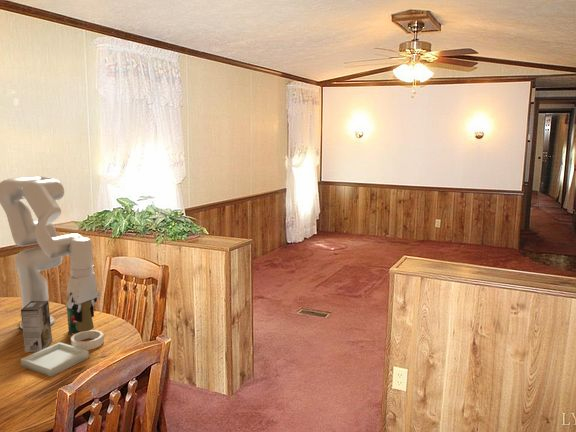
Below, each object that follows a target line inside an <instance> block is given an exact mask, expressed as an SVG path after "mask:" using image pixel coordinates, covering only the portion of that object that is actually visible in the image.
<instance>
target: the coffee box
mask: <svg viewBox="0 0 576 432" xmlns="http://www.w3.org/2000/svg"><path fill="white" fill-rule="evenodd" d="M48 301H49V300H48ZM48 301H31V302H30V303H28V304H27V305H26V306H25V307H24V308H23V307H22V308H21V309H20V314H21V316H22V317H21V316H20V317H21V322H22V326H23V329H22V333H23V334H22V335H23V345H24V352H25V353H31V352H32V353H33V352H34V353H36V352H38V351H41V350H43V349H45V348H47V347H49V345H50V343H51V342H52V341H53V337H52V325H51V324H50V316H51V315H50V314H51V313H49V312H50V302H49V303H48Z"/></svg>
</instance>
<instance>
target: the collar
mask: <svg viewBox="0 0 576 432" xmlns="http://www.w3.org/2000/svg"><path fill="white" fill-rule="evenodd" d="M104 337H105V336H104V333H103V331H100V330H98V329H91V330H89V331H84V332H79V333H76V334H72V336H70V345H71V346H74V347H77V348H81V349H84V350H87V351H89V350H94V349H97V348H99V347H101V346H102V345H103V344H104V343H105V338H104ZM90 339H91V340H90Z"/></svg>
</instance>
